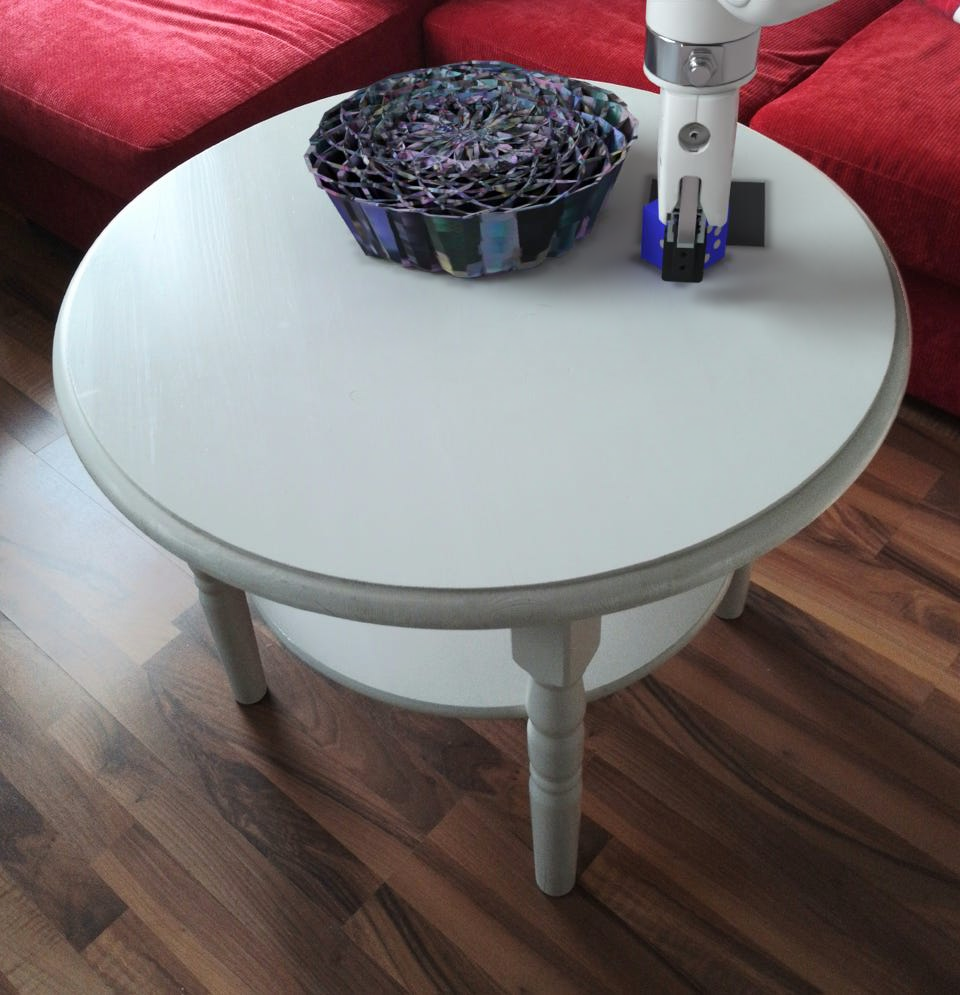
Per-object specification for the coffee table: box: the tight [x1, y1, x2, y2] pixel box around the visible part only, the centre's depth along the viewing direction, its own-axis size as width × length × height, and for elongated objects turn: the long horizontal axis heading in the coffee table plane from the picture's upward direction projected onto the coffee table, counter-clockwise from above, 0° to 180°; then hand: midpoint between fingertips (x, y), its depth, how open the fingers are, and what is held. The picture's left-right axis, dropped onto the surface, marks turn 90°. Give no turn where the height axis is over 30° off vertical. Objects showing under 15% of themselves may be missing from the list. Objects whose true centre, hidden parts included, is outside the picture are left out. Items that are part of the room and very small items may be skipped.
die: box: [640, 199, 730, 270], centre depth 90 cm, size 5×5×5 cm
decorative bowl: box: [303, 60, 640, 278], centre depth 95 cm, size 26×28×10 cm
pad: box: [648, 178, 766, 248], centre depth 96 cm, size 10×10×1 cm
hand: (682, 275), depth 86 cm, fingers closed
